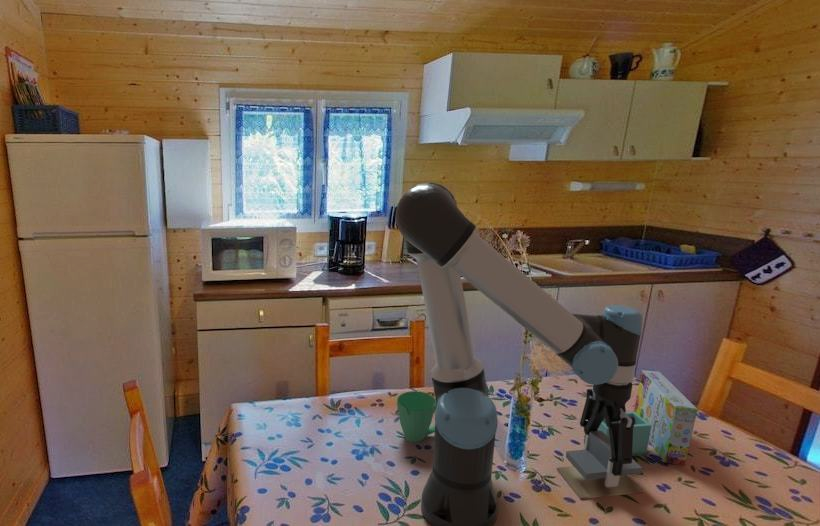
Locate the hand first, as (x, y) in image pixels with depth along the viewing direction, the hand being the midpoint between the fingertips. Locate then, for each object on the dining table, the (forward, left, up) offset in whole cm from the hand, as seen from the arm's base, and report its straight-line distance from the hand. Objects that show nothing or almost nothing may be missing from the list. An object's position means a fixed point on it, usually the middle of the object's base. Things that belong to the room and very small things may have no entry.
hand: (599, 472), depth 105 cm
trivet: (0, 0, -2) cm, 2 cm away
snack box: (+26, +13, -2) cm, 29 cm away
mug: (-35, +22, -2) cm, 41 cm away
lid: (+1, 0, +2) cm, 2 cm away
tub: (+12, +10, -2) cm, 16 cm away
